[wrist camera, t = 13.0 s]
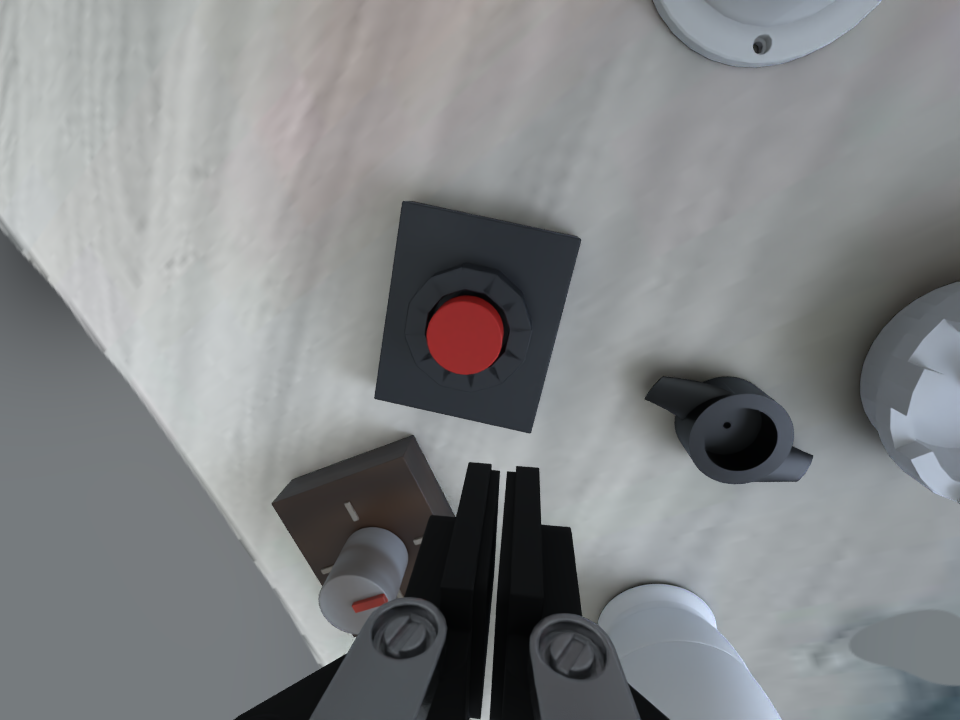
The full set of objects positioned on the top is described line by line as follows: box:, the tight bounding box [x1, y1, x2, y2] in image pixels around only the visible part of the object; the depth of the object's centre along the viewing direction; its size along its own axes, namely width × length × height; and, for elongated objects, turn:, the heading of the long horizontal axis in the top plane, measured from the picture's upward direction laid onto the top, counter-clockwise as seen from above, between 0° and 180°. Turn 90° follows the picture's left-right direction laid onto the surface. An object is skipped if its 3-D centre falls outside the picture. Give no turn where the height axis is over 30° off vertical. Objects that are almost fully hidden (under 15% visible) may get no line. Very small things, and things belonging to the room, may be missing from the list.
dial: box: [319, 527, 408, 635], centre depth 31 cm, size 4×4×5 cm
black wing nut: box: [645, 376, 813, 484], centre depth 30 cm, size 8×10×3 cm
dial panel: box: [272, 435, 455, 637], centre depth 35 cm, size 12×10×3 cm
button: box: [426, 295, 504, 375], centre depth 26 cm, size 4×4×2 cm
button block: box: [374, 201, 581, 433], centre depth 29 cm, size 12×10×4 cm
